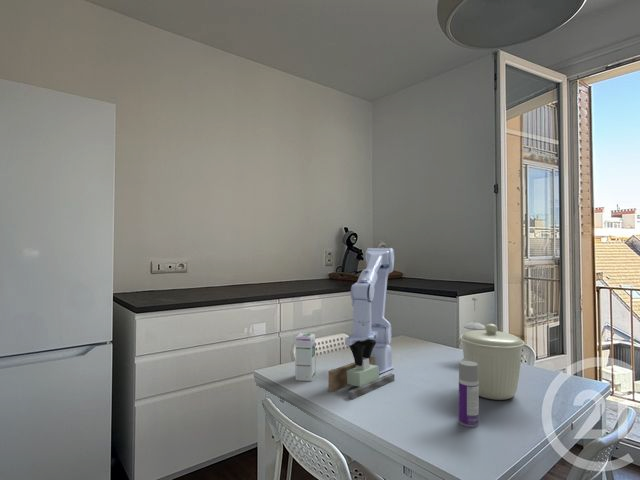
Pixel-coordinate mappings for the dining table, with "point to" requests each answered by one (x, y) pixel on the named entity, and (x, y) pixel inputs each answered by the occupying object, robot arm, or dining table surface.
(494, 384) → the canister
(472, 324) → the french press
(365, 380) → the mint block with knob
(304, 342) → the syrup box
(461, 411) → the container
